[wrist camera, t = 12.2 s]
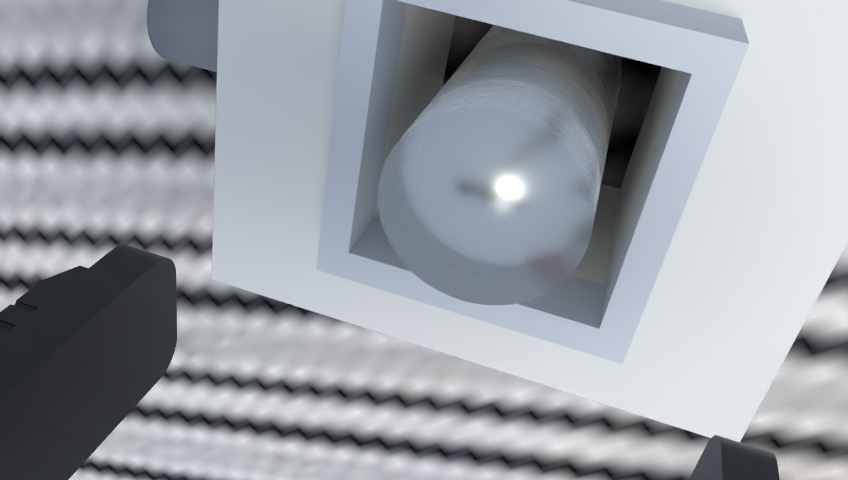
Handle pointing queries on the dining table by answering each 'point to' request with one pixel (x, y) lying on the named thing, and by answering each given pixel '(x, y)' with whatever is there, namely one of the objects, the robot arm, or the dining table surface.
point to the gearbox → (616, 209)
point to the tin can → (503, 169)
